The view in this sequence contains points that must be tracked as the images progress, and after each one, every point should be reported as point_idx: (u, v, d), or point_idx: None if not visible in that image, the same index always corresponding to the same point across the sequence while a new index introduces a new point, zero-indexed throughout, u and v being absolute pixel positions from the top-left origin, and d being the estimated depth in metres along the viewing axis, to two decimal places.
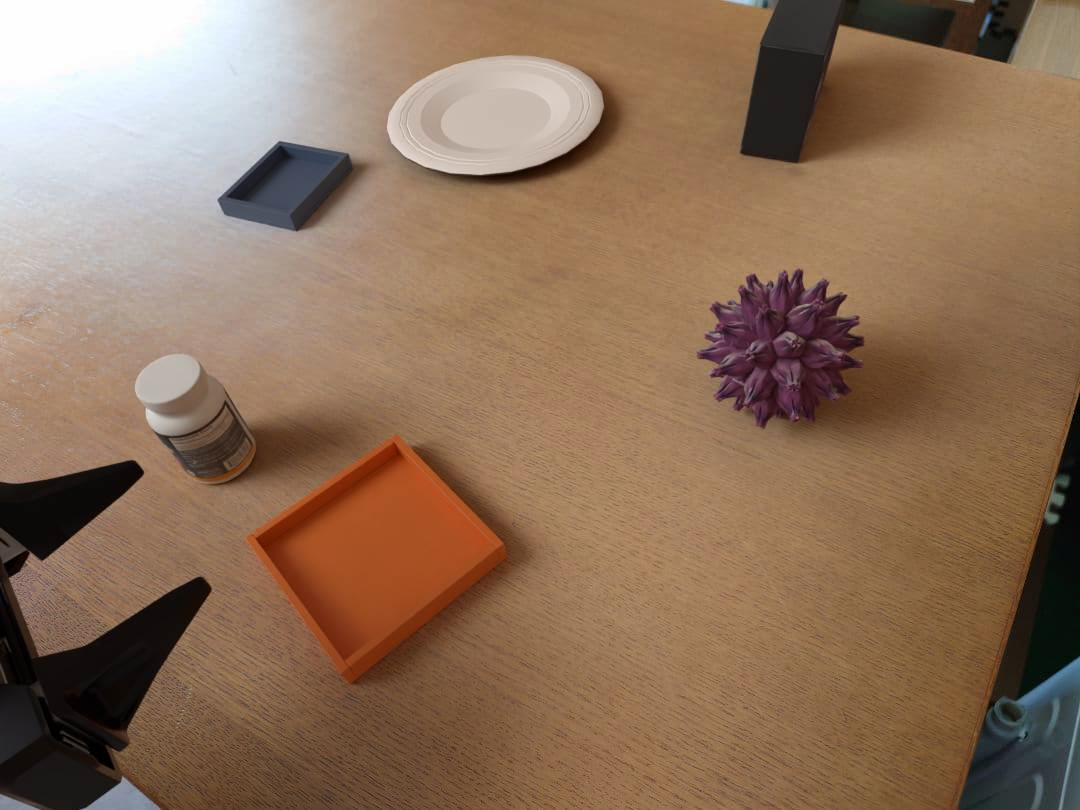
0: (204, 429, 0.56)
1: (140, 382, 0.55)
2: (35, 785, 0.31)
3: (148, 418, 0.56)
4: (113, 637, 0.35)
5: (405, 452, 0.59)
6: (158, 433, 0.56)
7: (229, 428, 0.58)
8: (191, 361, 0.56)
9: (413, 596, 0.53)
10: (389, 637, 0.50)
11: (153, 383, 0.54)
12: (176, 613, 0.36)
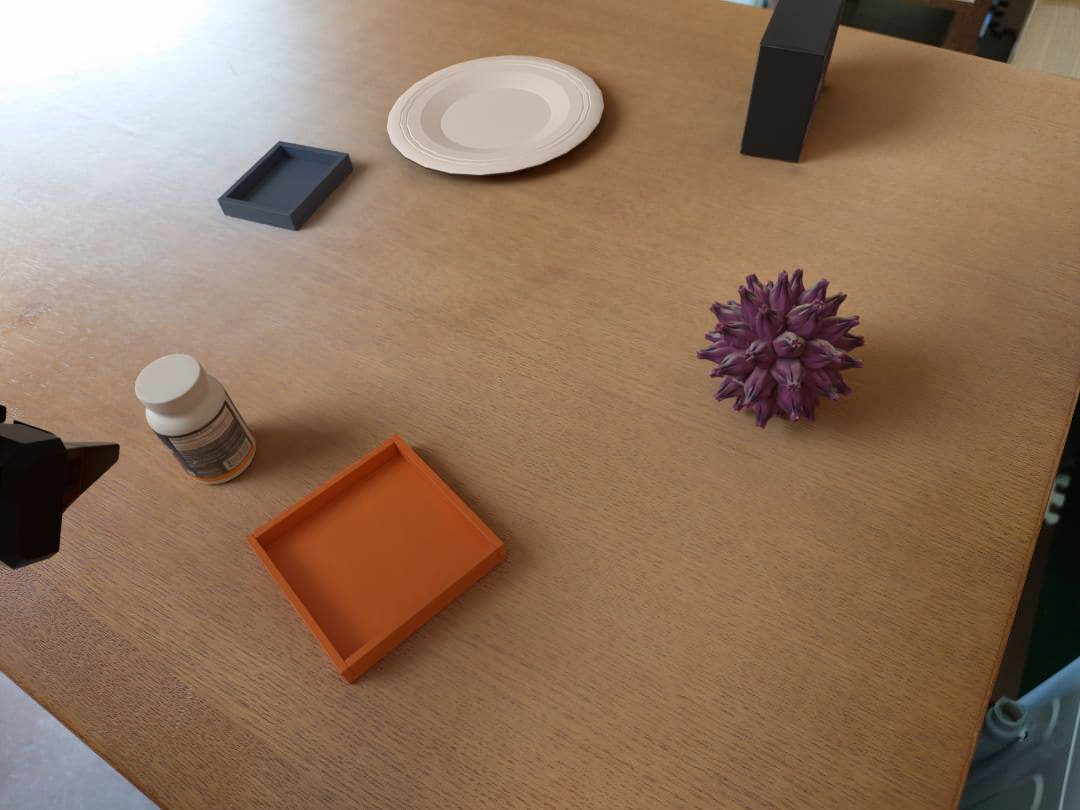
0: (204, 429, 0.56)
1: (140, 382, 0.55)
2: (35, 483, 0.36)
3: (148, 418, 0.56)
4: None
5: (405, 452, 0.59)
6: (158, 433, 0.56)
7: (229, 428, 0.58)
8: (191, 361, 0.56)
9: (413, 596, 0.53)
10: (389, 637, 0.50)
11: (153, 383, 0.54)
12: (100, 456, 0.44)
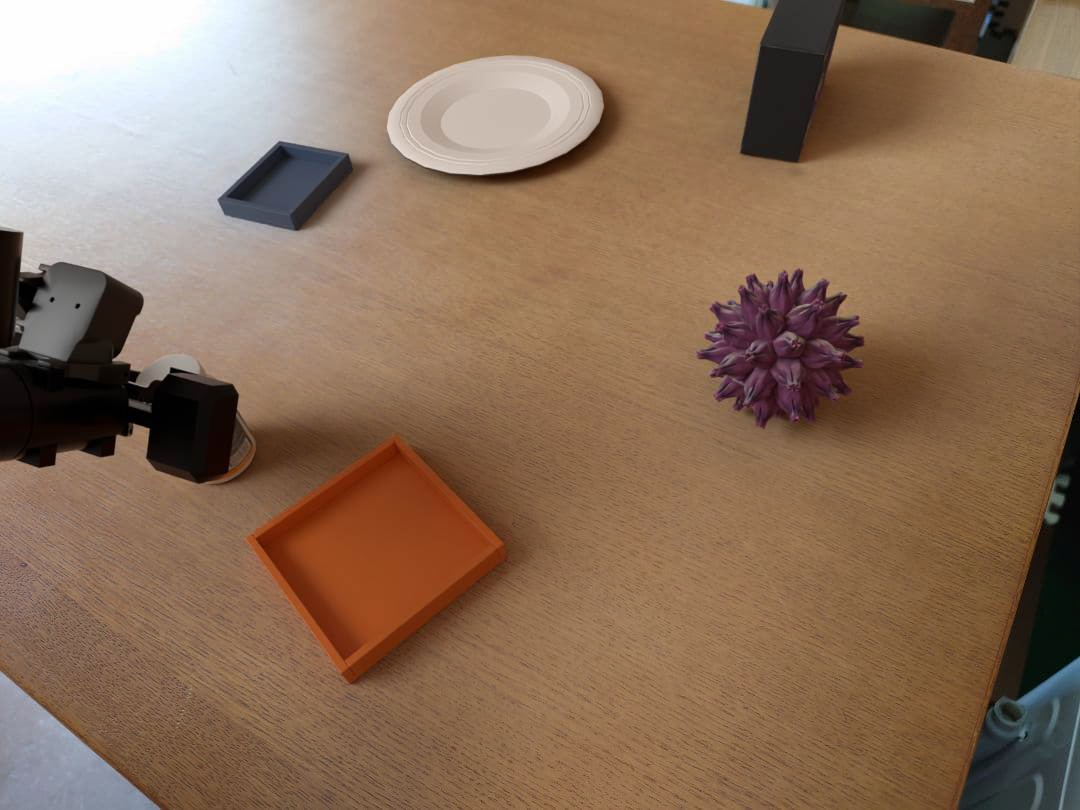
0: None
1: (140, 382, 0.55)
2: (218, 416, 0.47)
3: None
4: None
5: (405, 452, 0.59)
6: None
7: None
8: (191, 361, 0.56)
9: (413, 596, 0.53)
10: (389, 637, 0.50)
11: None
12: None
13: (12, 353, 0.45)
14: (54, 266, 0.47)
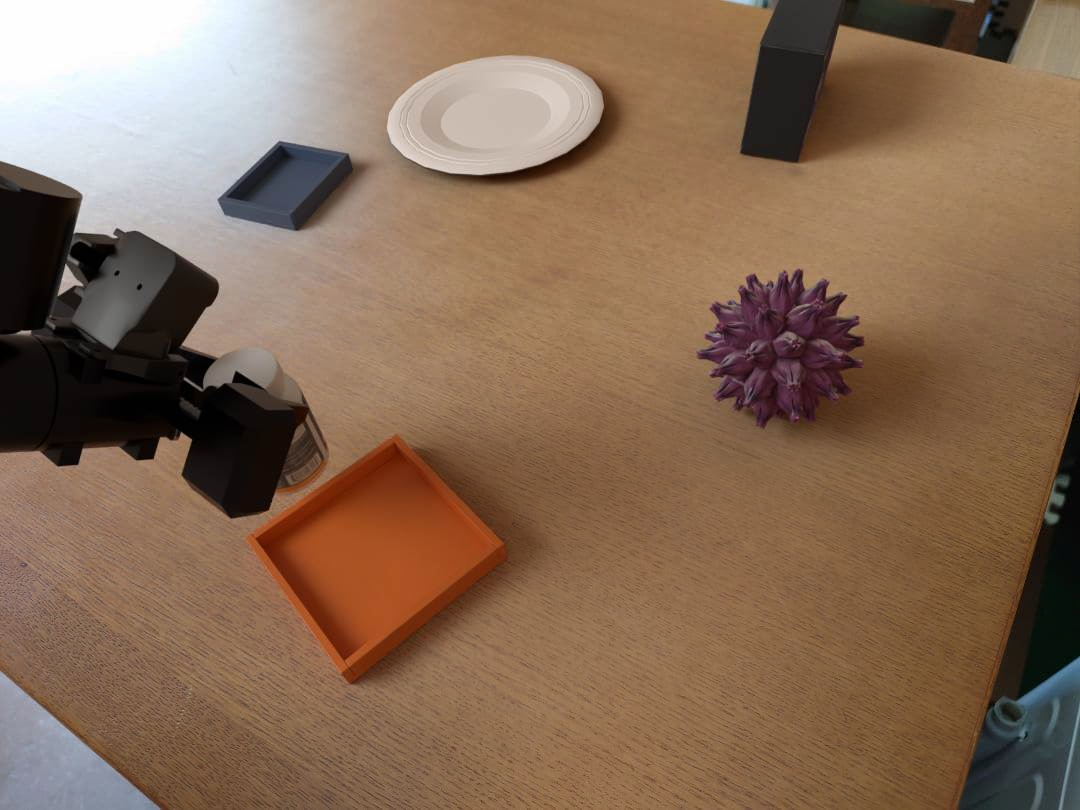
0: None
1: (211, 373, 0.48)
2: (267, 447, 0.39)
3: None
4: None
5: (405, 452, 0.59)
6: None
7: (298, 441, 0.51)
8: (270, 360, 0.48)
9: (413, 596, 0.53)
10: (389, 637, 0.50)
11: (223, 377, 0.48)
12: None
13: (59, 328, 0.38)
14: (129, 234, 0.40)
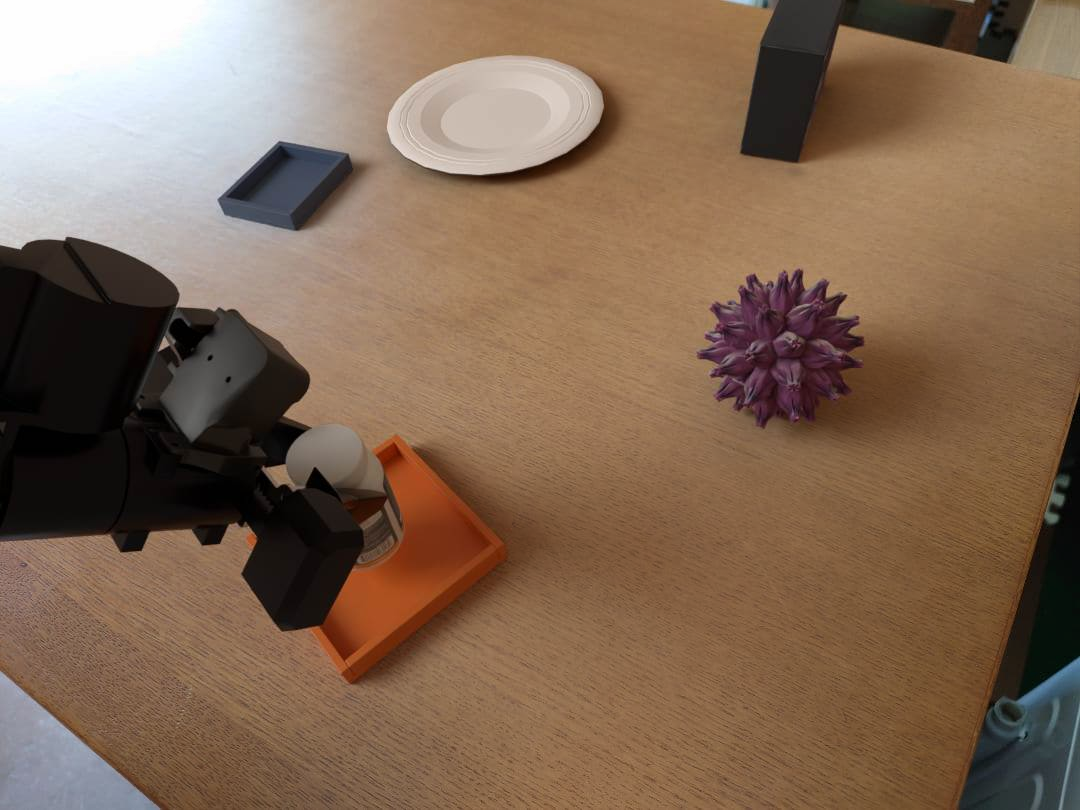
0: None
1: (296, 447, 0.46)
2: (328, 569, 0.36)
3: None
4: (343, 492, 0.43)
5: (405, 452, 0.59)
6: None
7: (373, 526, 0.48)
8: (356, 444, 0.46)
9: (413, 596, 0.53)
10: (389, 637, 0.50)
11: (307, 455, 0.46)
12: (369, 506, 0.45)
13: (144, 409, 0.37)
14: (228, 317, 0.38)
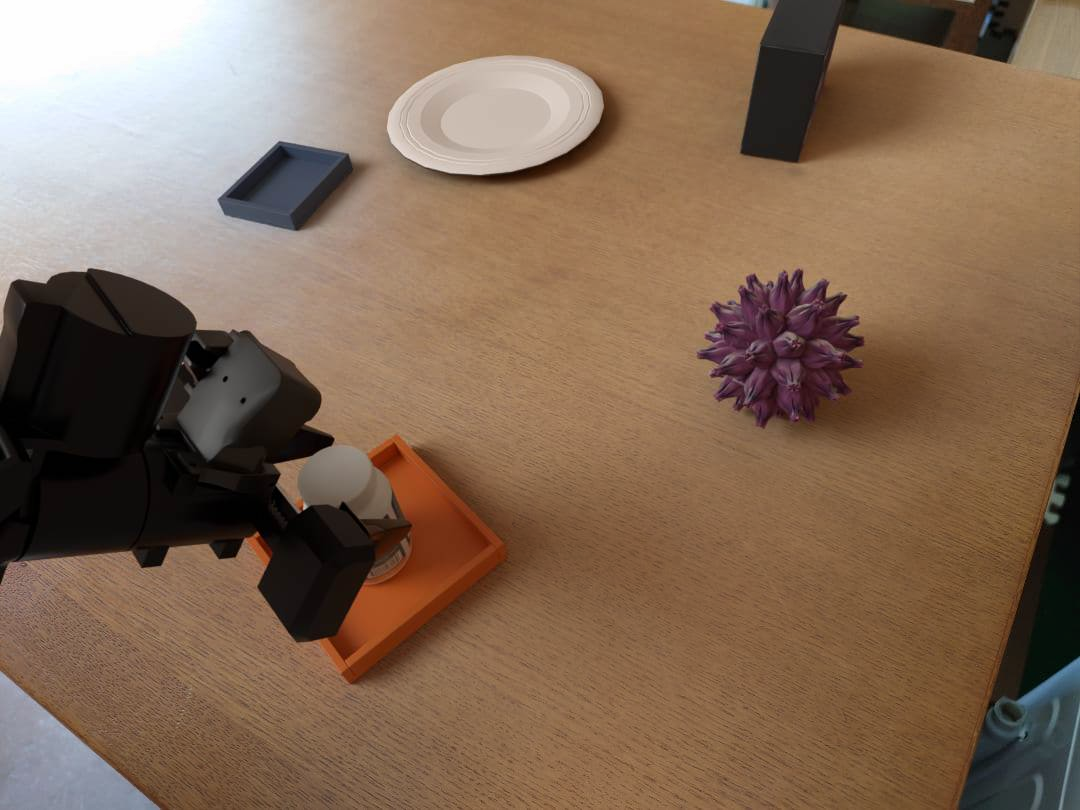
0: None
1: (307, 468, 0.48)
2: (341, 583, 0.38)
3: (304, 504, 0.49)
4: (369, 524, 0.44)
5: (405, 452, 0.59)
6: None
7: None
8: (365, 464, 0.48)
9: (413, 596, 0.53)
10: (389, 637, 0.50)
11: (318, 475, 0.48)
12: (394, 535, 0.46)
13: (162, 430, 0.38)
14: (242, 339, 0.40)
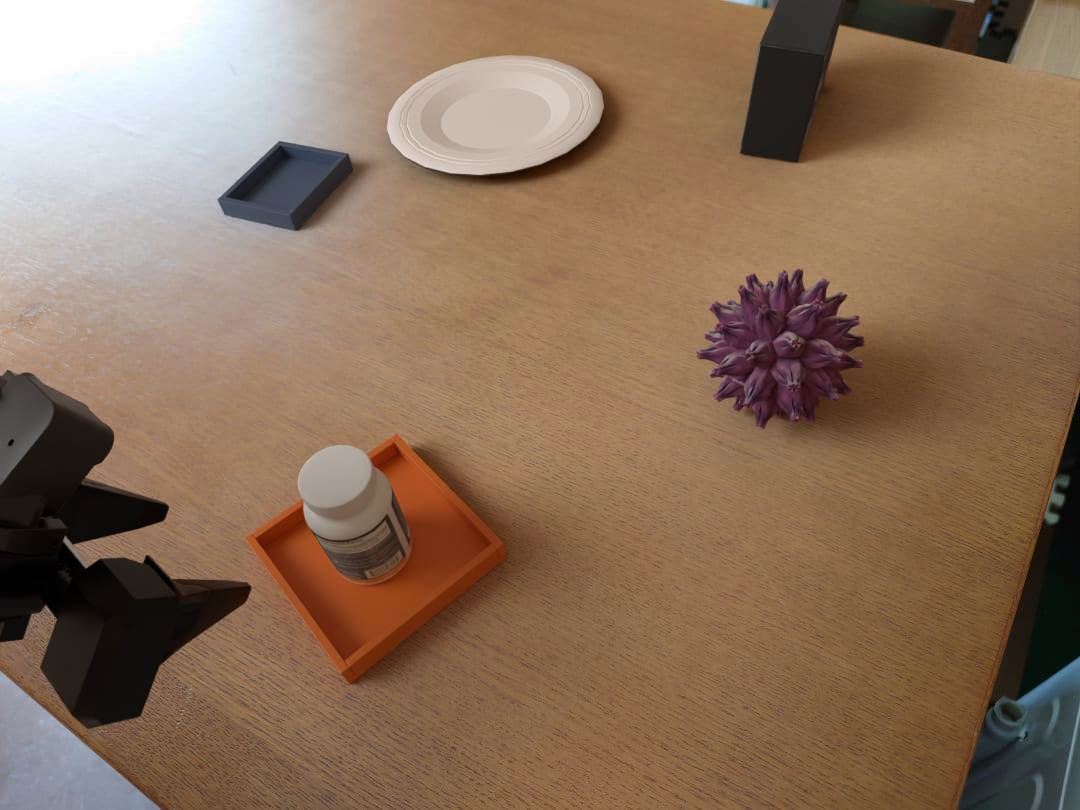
0: (351, 541, 0.48)
1: (307, 468, 0.48)
2: (134, 644, 0.32)
3: (304, 504, 0.49)
4: (189, 583, 0.38)
5: (405, 452, 0.59)
6: (307, 524, 0.49)
7: (381, 542, 0.50)
8: (365, 465, 0.48)
9: (413, 596, 0.53)
10: (389, 637, 0.50)
11: (318, 475, 0.48)
12: (227, 599, 0.40)
13: None
14: (16, 378, 0.35)
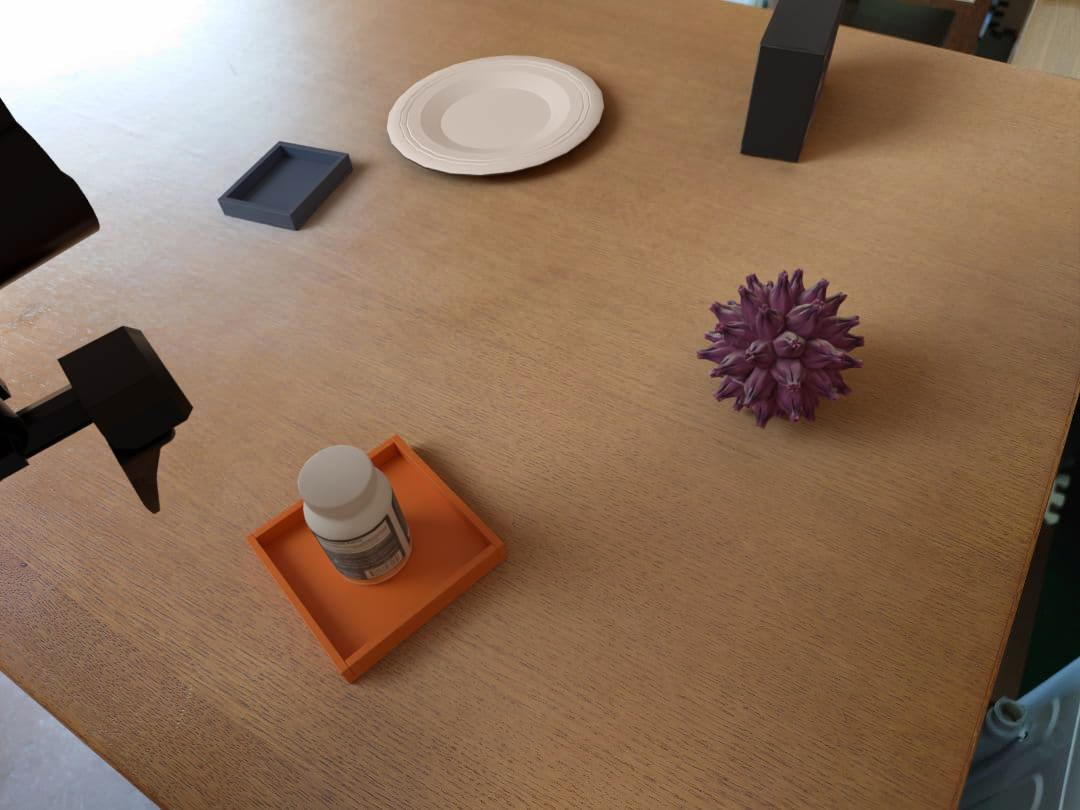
0: (351, 541, 0.48)
1: (307, 468, 0.48)
2: None
3: (304, 504, 0.49)
4: None
5: (405, 452, 0.59)
6: (307, 524, 0.49)
7: (381, 542, 0.50)
8: (365, 465, 0.48)
9: (413, 596, 0.53)
10: (389, 637, 0.50)
11: (318, 475, 0.48)
12: None
13: None
14: None
